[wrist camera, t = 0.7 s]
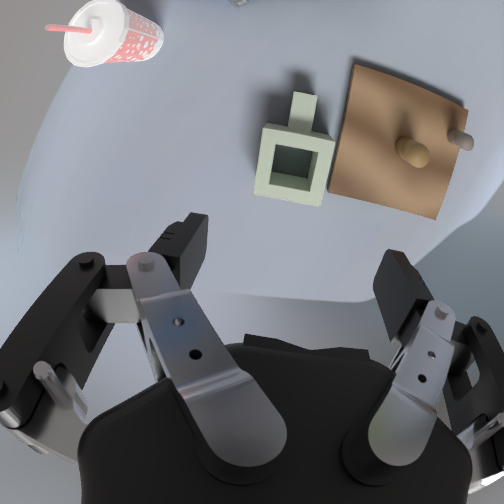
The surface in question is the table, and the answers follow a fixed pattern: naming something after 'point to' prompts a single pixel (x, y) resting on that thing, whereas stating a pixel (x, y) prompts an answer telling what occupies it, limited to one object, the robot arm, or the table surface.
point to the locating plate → (377, 138)
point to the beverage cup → (109, 35)
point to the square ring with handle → (297, 137)
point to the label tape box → (239, 2)
